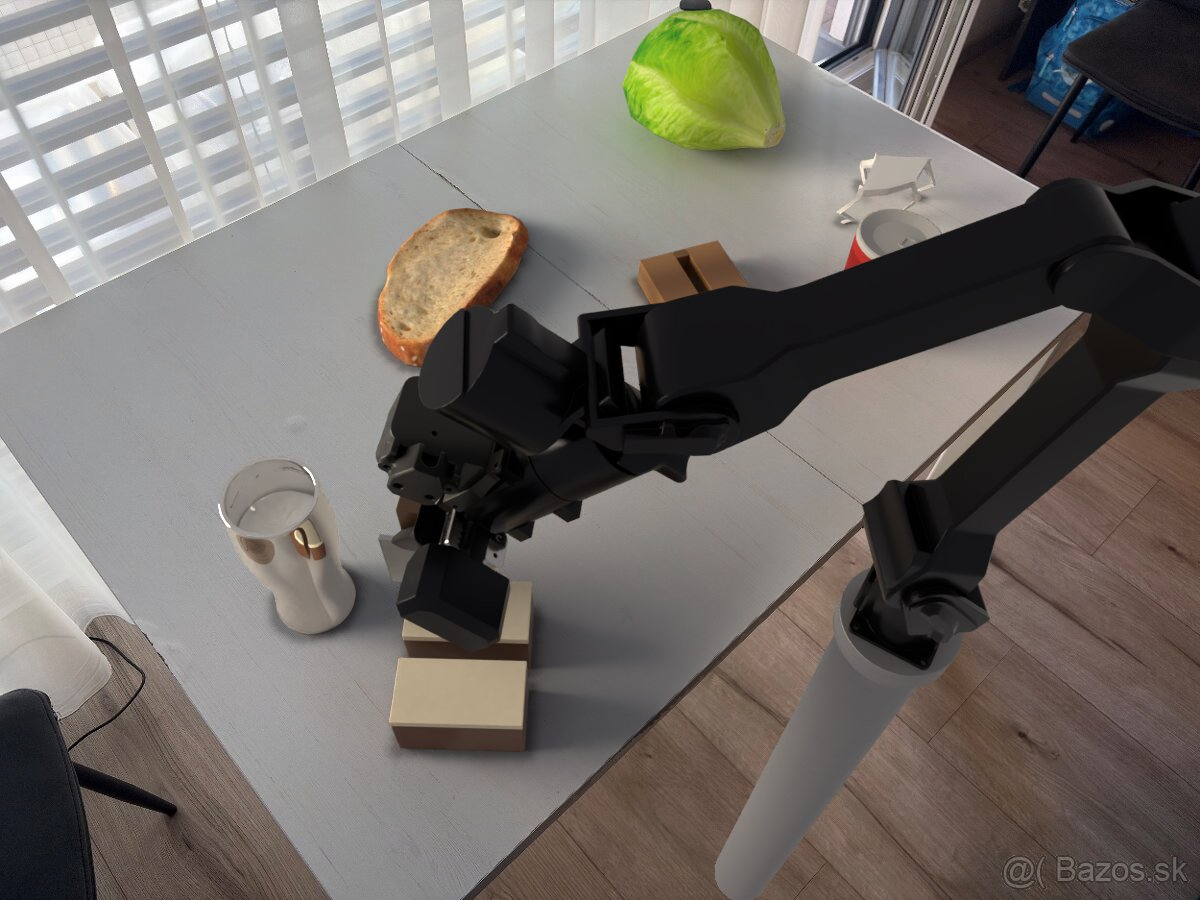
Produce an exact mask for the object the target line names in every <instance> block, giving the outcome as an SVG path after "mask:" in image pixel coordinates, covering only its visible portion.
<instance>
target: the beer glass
mask: <svg viewBox="0 0 1200 900" xmlns="http://www.w3.org/2000/svg"><path fill="white" fill-rule="evenodd" d="M324 489H325V488H323V486H322V484H321V482H320V480H319V478H318V475H317V473H316V472H315V471H314V469H313V468H312V467H311V465H309V464H308V463H306V462H305V461H304V460H302V459H299V458H297V457H295V456H290V455H284V454H283V455H282V454H273V455H266V456H261V457H258V458H255V459H252V460H250V461H247V462H246V463H244V464H243V465H241V466H239V468H237V469H236V470H234V471H233V472H232V473H231V475H229V477H228V478H227V480H226V481H225V482H224V484H223V485H222V487H221V489H220V492H219V497H218V511H219V514H220V517H221V519H222V521H223V522H224V526H225V529H226V531H227V534H228V537H229V539H230V542H231V543H232V545H233V548H234V550H235V552H236V554H237V555H238V556H239V558H240V560H241V561H242V563H243V564H244V565H245V567H246V568H247V569H248V570H249V571H250V573H251V574H252V575H253V576H254V577H255V578H256V579H257V580H258V581H259V582H260V583H261V584H262V585H263V586H265V588H267V589H268V590H269V591H270V592H271V593H272V594H273V595H274V601H275V607H276V611H277V614H278V617H279V618H280V620H281V621H282V623H283V624H284V625H285V626H286V627H287V628H289V629H290V630H292V631H294V632H296V633H299V634H304V635H316V634H321V633H326V632H328V631H330V630H332V629H334V628H337V626H339V625H340V624H341V623H343V622H344V621H345V620H346V619H347V617H348V616H349V615H350V614H351V612H352V610H353V608H354V605H355V603H356V596H357V595H356V594H357V593H356V592H357V591H356V586H355V583H354V580H353V579H352V577H351V575H350V574H349V573H348V572H347V571H346V570H345V569H344V567H342V564H341V546H340V545H341V543H340V534H339V525H338V522H337V518H336V515H335V512H334V508H333V506H332V504H331V502H330V499H329V498H328V495H327V493H326V491H325V490H324Z"/></svg>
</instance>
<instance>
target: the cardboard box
mask: <svg viewBox="0 0 1200 900" xmlns="http://www.w3.org/2000/svg"><path fill="white" fill-rule="evenodd" d="M638 263H639V264H638V274H637V275H638V276H637V283H638V285H639V287H640V288H641V290H642V292H643V293H644V295H645V297H646V299H647V300H648V303H649V304H655V303H663V302H667V301H670V300H674V299H677V298H681V297H685V296H689V295H693V294H697V293H701V292H706V291H710V290H714V289H718V288H722V287H726V286H731V285H739V286H745V287H750V286H749V285H748V283H747V282H746V280H745V278H744V277H743V276H742V274H741V273H740V271H739V270H738V268H737V266H736V265H735V263H734V262H733V261H732V259H731V258H730V256H729V255H728V254H727V252H726V250H725V248H724V247H723V246H722V244H721V243H720V241H719V240H713V241H709V242H705V243H701V244H697V245H694V246H690V247H685V248H682V249H679V250H675V251H671V252H666V253H663V254H659V255H655V256H650V257H646V258H643V259H640V260H639V261H638Z"/></svg>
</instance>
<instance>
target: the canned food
mask: <svg viewBox="0 0 1200 900" xmlns="http://www.w3.org/2000/svg"><path fill="white" fill-rule="evenodd" d="M940 234H943V233H942V231H941V230H940V228H939V227H938V226H936V224H935V223H933V221H931V220H930V219H928V218H926V217H924V216H923V215H920V214H919V213H915V212H913V211H909V210H907V209H906V210H902V209H900V208H899V209H898V208H883V209H878V210H875V211H872V212H870V213H868V214H867V215H865V216H864V217H863V218H862V219H861V221H859V224H858V227H857V228H856V231H855V235H854V237H853V239H852V244H851V246H850V249H849V253H848V257H847V259H846V263H845V265H844V269H843V270H845V269H848V268H850V267H853V266H856V265H858V264H861V263H864V262H867V261H869V260H872V259H875V258H878V257H880V256H883V255H886V254H888V253H891V252H894V251H897V250H899V249H902V248H905V247H907V246H910V245H913V244H916V243H918V242H921V241H924V240H927V239H929V238H932V237H935V236H937V235H940Z"/></svg>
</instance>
